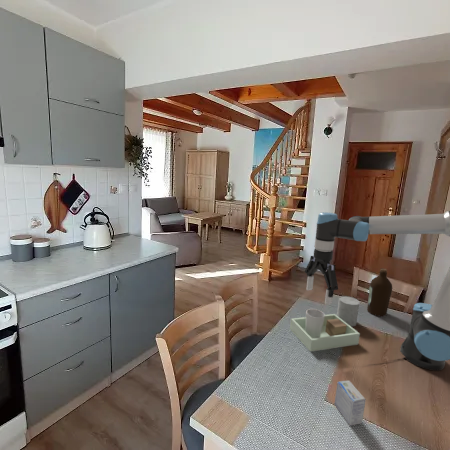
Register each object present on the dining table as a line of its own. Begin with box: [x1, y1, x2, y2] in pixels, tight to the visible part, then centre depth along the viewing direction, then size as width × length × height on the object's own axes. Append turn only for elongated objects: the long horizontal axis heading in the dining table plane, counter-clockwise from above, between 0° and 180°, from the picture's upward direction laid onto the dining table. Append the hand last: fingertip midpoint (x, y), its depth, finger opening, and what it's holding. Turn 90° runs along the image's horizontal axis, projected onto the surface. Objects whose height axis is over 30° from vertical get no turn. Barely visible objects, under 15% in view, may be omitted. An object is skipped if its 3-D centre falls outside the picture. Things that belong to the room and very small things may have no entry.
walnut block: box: [325, 319, 347, 336], centre depth 126 cm, size 6×6×6 cm
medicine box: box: [333, 380, 367, 426], centre depth 85 cm, size 8×4×9 cm, turn 12°
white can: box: [336, 295, 361, 328], centre depth 138 cm, size 10×10×12 cm
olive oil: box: [366, 268, 393, 317], centre depth 149 cm, size 11×11×25 cm
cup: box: [305, 308, 326, 339], centre depth 122 cm, size 8×8×12 cm
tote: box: [289, 313, 361, 353], centre depth 125 cm, size 17×24×6 cm
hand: (318, 296), depth 120 cm, fingers open, 13 cm apart
